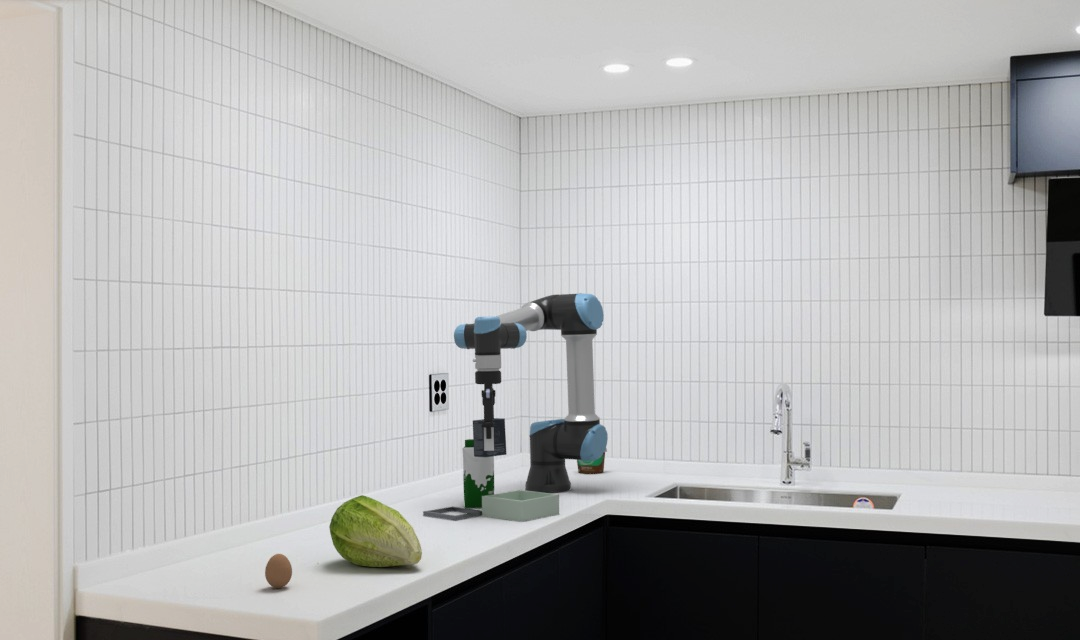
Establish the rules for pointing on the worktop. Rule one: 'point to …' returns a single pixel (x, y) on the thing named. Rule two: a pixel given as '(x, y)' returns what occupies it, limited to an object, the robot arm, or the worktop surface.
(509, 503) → the bin
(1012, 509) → the worktop surface
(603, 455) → the food container
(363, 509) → the lettuce
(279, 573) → the egg
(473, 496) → the milk carton
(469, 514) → the collar
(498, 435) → the box
